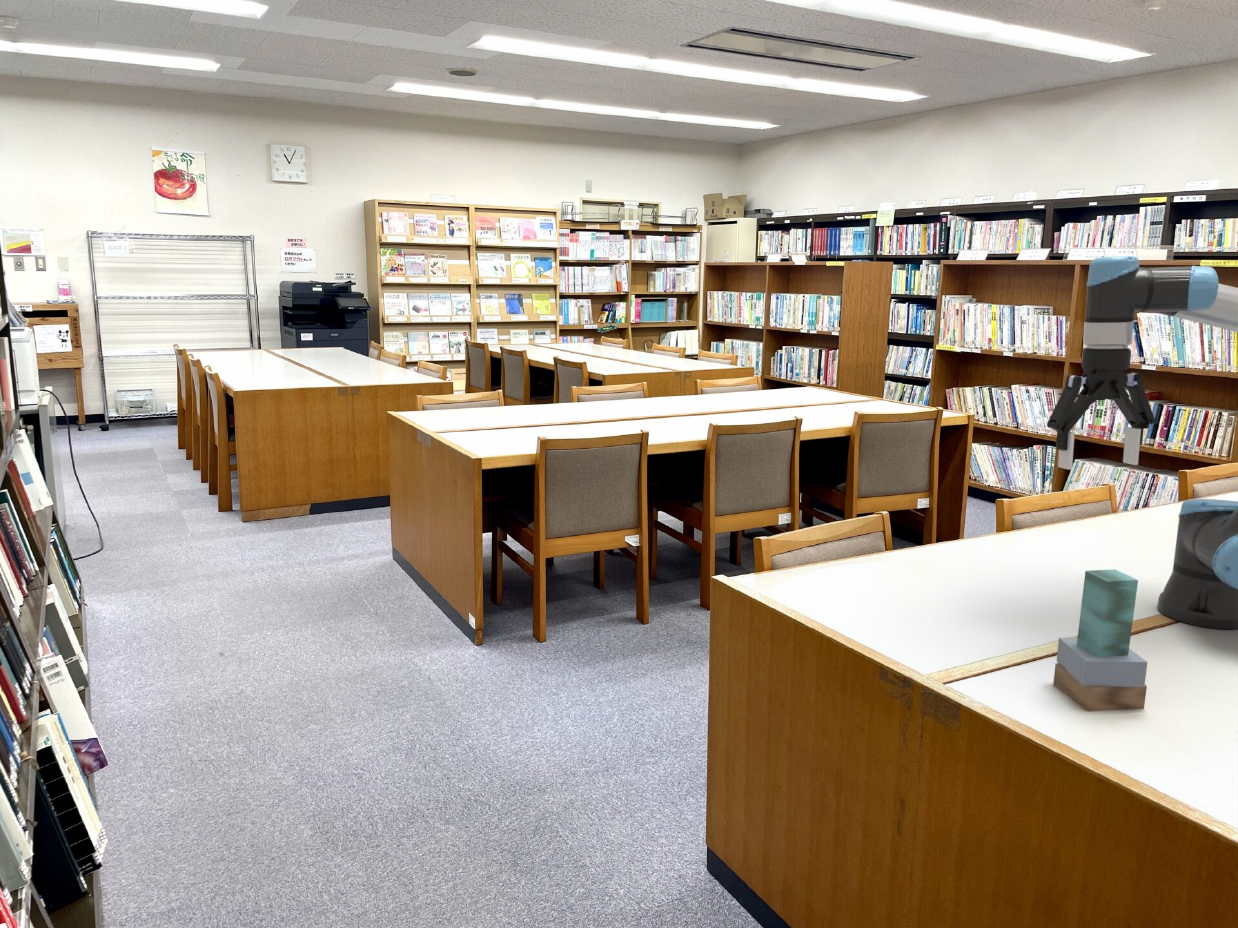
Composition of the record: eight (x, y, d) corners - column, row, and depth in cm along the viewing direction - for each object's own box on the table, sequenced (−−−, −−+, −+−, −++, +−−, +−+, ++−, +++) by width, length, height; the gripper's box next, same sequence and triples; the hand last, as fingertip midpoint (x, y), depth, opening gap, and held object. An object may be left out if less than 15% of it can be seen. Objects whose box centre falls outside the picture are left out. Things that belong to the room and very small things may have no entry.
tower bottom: (1105, 684, 142) (1108, 661, 142) (1143, 710, 134) (1146, 685, 133) (1053, 686, 141) (1055, 663, 141) (1087, 712, 133) (1090, 688, 132)
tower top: (1113, 662, 141) (1116, 638, 140) (1144, 687, 132) (1147, 662, 132) (1056, 661, 141) (1058, 637, 141) (1083, 685, 133) (1086, 661, 132)
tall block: (1105, 641, 139) (1115, 569, 136) (1128, 655, 134) (1138, 580, 132) (1076, 643, 138) (1085, 570, 136) (1098, 656, 133) (1107, 581, 131)
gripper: (1150, 344, 161) (1141, 458, 165) (1030, 348, 156) (1023, 466, 160) (1184, 345, 154) (1173, 465, 158) (1059, 350, 149) (1051, 473, 152)
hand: (1097, 466), depth 159 cm, fingers open, 13 cm apart
